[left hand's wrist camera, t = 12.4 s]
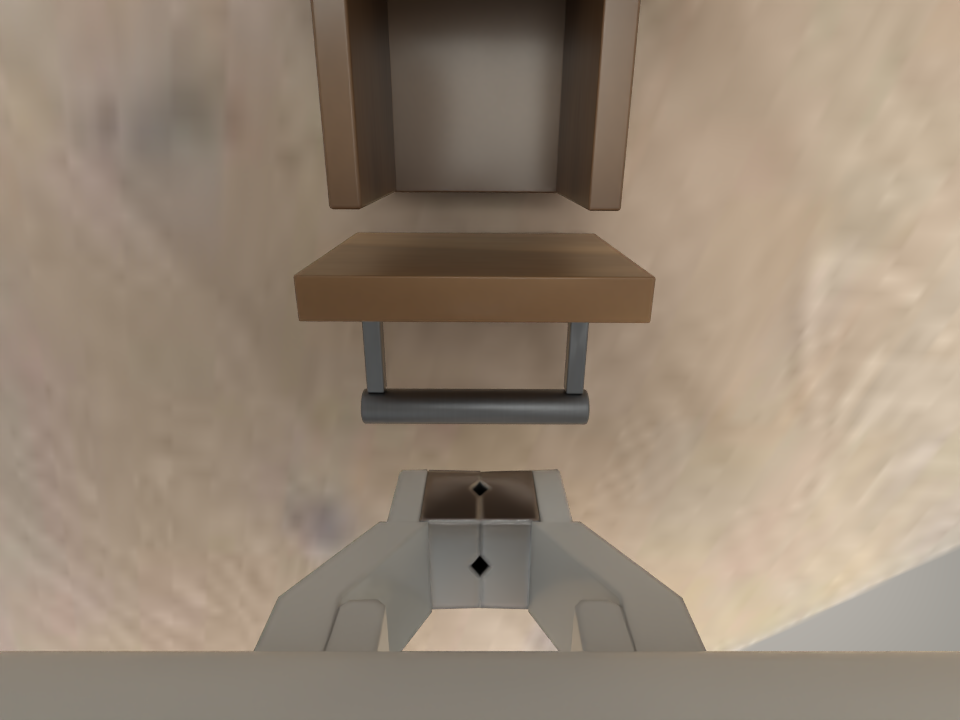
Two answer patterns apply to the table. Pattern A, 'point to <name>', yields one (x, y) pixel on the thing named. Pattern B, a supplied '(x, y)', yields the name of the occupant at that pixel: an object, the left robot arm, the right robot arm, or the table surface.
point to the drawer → (475, 180)
